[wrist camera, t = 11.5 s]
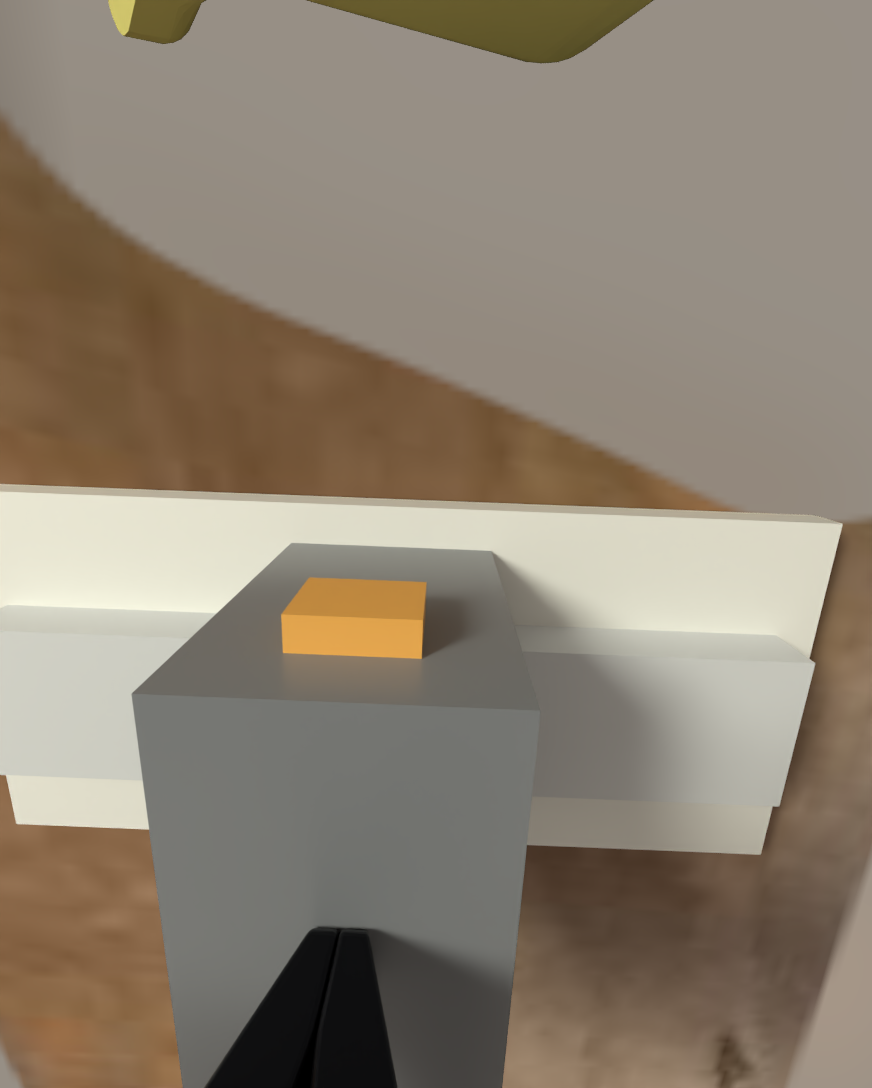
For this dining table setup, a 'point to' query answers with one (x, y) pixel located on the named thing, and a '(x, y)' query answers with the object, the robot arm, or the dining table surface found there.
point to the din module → (346, 798)
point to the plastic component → (431, 21)
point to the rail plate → (537, 612)
